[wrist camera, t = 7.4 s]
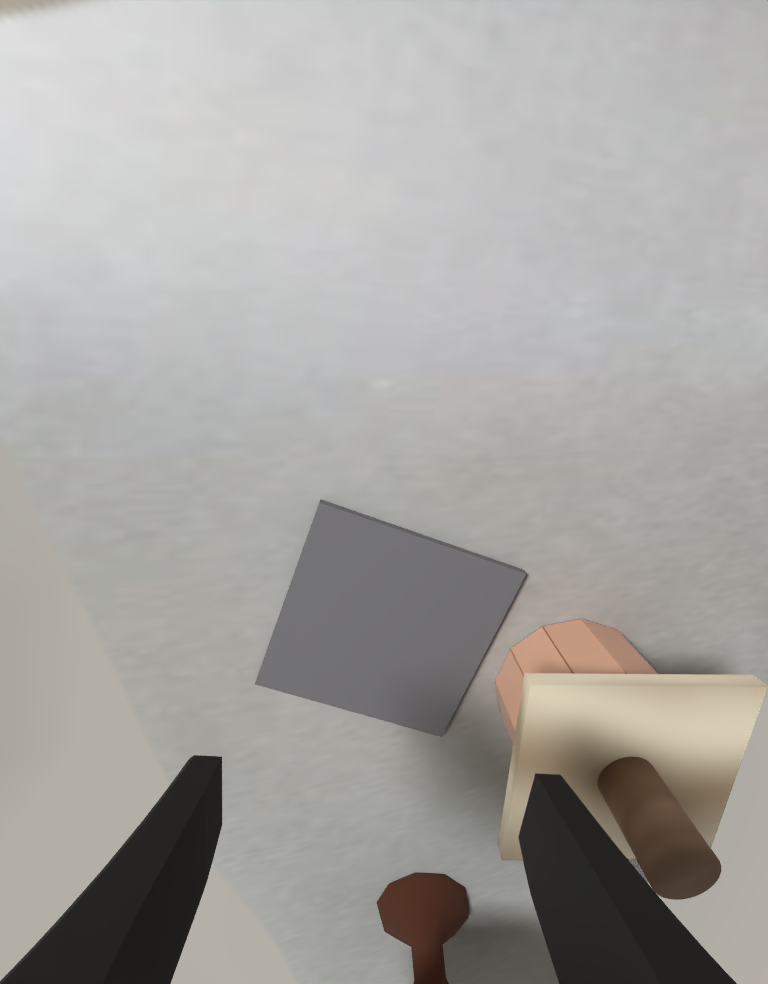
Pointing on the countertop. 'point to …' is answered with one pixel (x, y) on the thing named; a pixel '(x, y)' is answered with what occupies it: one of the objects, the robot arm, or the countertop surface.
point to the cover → (638, 762)
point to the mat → (385, 620)
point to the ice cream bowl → (424, 919)
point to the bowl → (564, 660)
